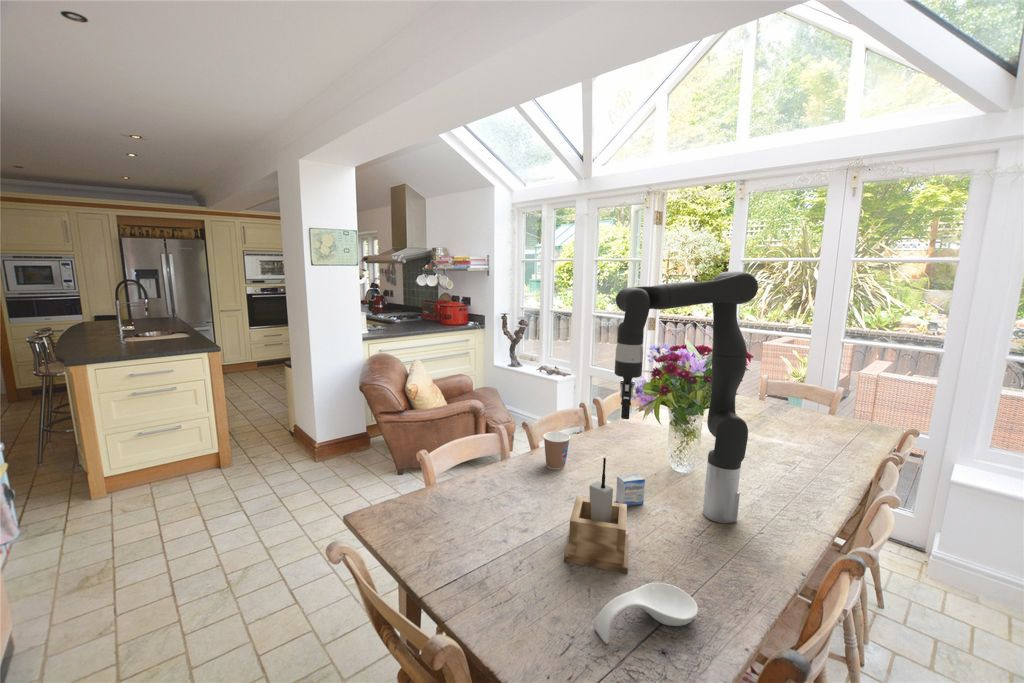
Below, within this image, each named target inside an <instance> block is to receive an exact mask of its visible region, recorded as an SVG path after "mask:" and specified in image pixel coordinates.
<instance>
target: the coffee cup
mask: <svg viewBox="0 0 1024 683" xmlns="http://www.w3.org/2000/svg"><path fill="white" fill-rule="evenodd" d="M542 437H543V440H544V441H543V443H544V453H545V454H544V455H545V462H546V467H547V468H548V469H551V470H562V469H564V468H565V465H566V462H567V456H568V450H569V445H570V439H571V436H570V435H569V434H568V433H566V432H563V431H562V432H561V431H547V432H546V433H544V434H543V436H542Z"/></svg>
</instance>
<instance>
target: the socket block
mask: <svg viewBox="0 0 1024 683" xmlns="http://www.w3.org/2000/svg"><path fill="white" fill-rule="evenodd" d="M574 500H575V501H574V505H573V508H572V512H571V516H570V519H569V532H568V533H569V536H568V538H567V539H568V540H567V542H566V543H567V544H566V547H565V550H564V555H563V562H567V563H571V564H577V565H581V566H587V567H593V568H597V569H603V570H608V571H613V572H617V573H618V572H619V573H624V574H628V567H629V565H628V564H629V540H630V539H629V534H628V533H627V513H628V512H627V511H628V508H627V507H628V506H627V504H621V503H618V502H614V501H612V515H611V523H606V522H600V521H594V520H591V505H590V498H588V497H587V498H586V497H583V496H582V497H580V496H576V497H575V499H574Z"/></svg>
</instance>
